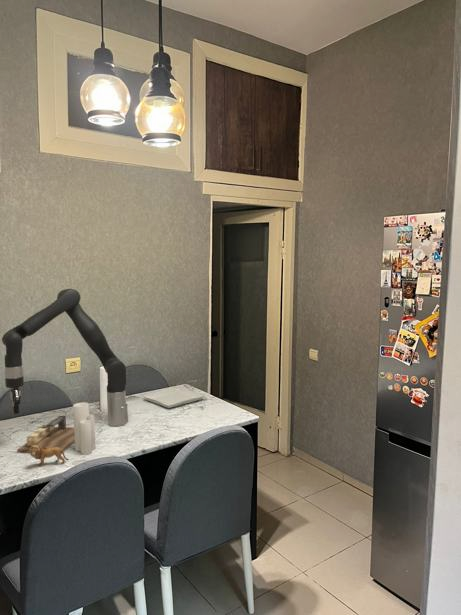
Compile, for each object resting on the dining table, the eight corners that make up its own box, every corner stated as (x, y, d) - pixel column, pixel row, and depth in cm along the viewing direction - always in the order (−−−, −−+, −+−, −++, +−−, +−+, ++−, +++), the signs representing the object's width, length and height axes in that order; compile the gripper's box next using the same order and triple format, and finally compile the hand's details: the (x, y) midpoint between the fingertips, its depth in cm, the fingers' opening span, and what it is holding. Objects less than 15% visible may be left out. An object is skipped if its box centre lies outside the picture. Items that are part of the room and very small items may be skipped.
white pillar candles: (72, 448, 204) (70, 404, 202) (87, 444, 209) (85, 401, 207) (84, 455, 196) (82, 410, 194) (100, 450, 201) (98, 406, 199)
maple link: (43, 432, 219) (43, 423, 219) (51, 432, 219) (51, 423, 218) (24, 446, 203) (24, 436, 202) (33, 446, 202) (32, 436, 202)
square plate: (178, 392, 294) (178, 386, 293) (206, 401, 274) (205, 394, 273) (142, 401, 275) (141, 395, 275) (168, 411, 255) (168, 404, 255)
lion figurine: (30, 470, 183) (29, 448, 182) (30, 465, 188) (29, 443, 187) (69, 463, 189) (68, 441, 188) (68, 458, 194) (67, 437, 193)
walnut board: (88, 430, 226) (87, 415, 226) (61, 453, 199) (60, 436, 198) (49, 429, 228) (48, 414, 228) (17, 452, 201) (16, 435, 200)
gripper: (2, 374, 211) (5, 411, 213) (7, 380, 200) (9, 418, 202) (20, 372, 215) (22, 408, 217) (25, 377, 204) (28, 415, 206)
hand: (16, 413), depth 209 cm, fingers closed
